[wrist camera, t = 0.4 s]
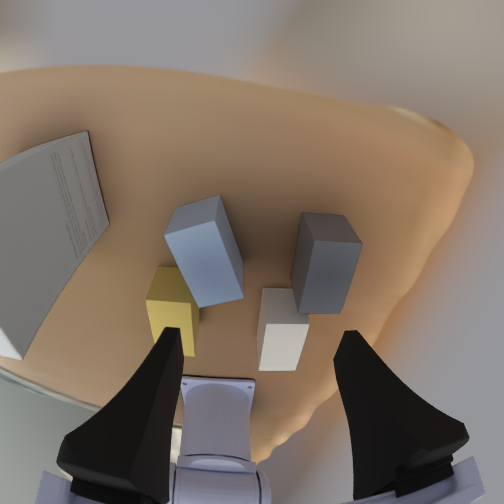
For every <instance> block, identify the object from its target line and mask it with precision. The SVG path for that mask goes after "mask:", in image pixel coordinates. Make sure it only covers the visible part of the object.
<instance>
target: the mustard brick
mask: <svg viewBox="0 0 504 504" xmlns="http://www.w3.org/2000/svg"><path fill="white" fill-rule="evenodd" d="M146 304H147V310H148V315H149V320H150V325H151V329H152V334H153V339H154V343H156V341H157V340H158V338H159V336H160V335H161V333H162V331H163V329H164V328H165V327H177V328H180V332H181V339H182V346H183V354H184V356H193V357H195V351H196V344H197V337H198V329H199V322H200V318H199V307H198V305H197V303H196V301H195V299H194V297H193V295H192V293H191V291H190V289H189V287H188V285H187V283H186V281H185V279H184V277H183V275H182V273H181V271H180V269H179V267H164V266H158V269H157V271H156V274H155V277H154V279H153V282H152V284H151V287H150V290H149V292H148V295H147V298H146Z"/></svg>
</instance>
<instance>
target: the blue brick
mask: <svg viewBox="0 0 504 504" xmlns="http://www.w3.org/2000/svg"><path fill="white" fill-rule="evenodd" d="M164 237H165V239H166V241H167V243H168V246H169V248H170V250H171V252H172V254H173V256H174V258H175V260H176V263H177V265H178V267H179V269H180V271H181V273H182V275H183V277H184V279H185V281H186V283H187V285H188V287H189V289H190V291H191V293H192V295H193V297H194V299H195V301H196V303H197V305H198V307H199V308H201V307H206V306H210V305H215V304H220V303H224V302H229V301H233V300H238V299H242V298H244V270H243V261H242V258H241V255H240V252H239V249H238V246H237V244H236V241H235V238H234V235H233V232H232V229H231V226H230V224H229V221H228V218H227V215H226V212H225V209H224V206H223V203H222V200H221V198H220V195H217V196H213V197H210V198H206V199H203V200H200V201H196V202H193V203H190V204H186V205H183V206H180V207H177V208H176V210H175V212H174V215H173V217H172V219H171V221H170V223H169V225H168V227H167V229H166V231H165V233H164Z"/></svg>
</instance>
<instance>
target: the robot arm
mask: <svg viewBox="0 0 504 504" xmlns="http://www.w3.org/2000/svg"><path fill="white" fill-rule="evenodd" d="M333 361H334V368H335V374H336V380H337V384H338V387H339V391H340V394H341V398H342V401H343V405H344V408H345V412H346V415H347V420H348V424H349V430H350V437H351V446H352V456H353V474H354V487H353V488H354V489H353V499H354V501H352V502H347V503H342V504H471V503H473V502H474V501H476V500H478V499H479V498H481V497H482V496H484V495H485V494H486V493H485V489H484V486H483V483H482V480H481V477H480V474H479V471H478V468H477V465H476V462H475V459H474V457H473V456H472V457H470V458H468V459H466V460H464V461H462V462H459V463H458V464H456V465H454V466H451V462H452V461H453V456H452V454H453V453H454V452H456V451H457V450H458V449H460V448H461V447H462V446H464V445H465V444H466V443H467V442H468V440H469V435H468V432H467V430H466V428H465V425H464V423H462V422H460V421H458V420H456V419H454V418H452V417H450V416H448V415H446V414H445V413H443V412H441V411H440V410H438V409H436V408H435V407H433V406H432V405H430V404H429V403H427V402H426V401H425V400H423V399H422V398H421V397H419V396H418V395H417V394H416V393H414V392H413V391H412V390H411V389H410V388H409V387H408V386H407V385H405V384H404V383H403V382H402V381H401V380H400V379H399V378H398V377H397V376H396V375H395V374H394V373H393V372H392V371H391V370H390V368H388V367H387V365H386V364H385V363H384V362H383V361H382V359H381V358H380V357H379V356H378V355H377V354H376V352H375V351H374V350H373V349H372V348H371V346H370V345H369V344H368V343H367V342H366V340H365V339H364V338H363V337H362V335H361V334H360V333H359V332H358V331H357V330H350V331H345V332H344V334H343V337H342V339H341V342H340V344H339V347H338V349H337V352H336V354H335V357H334V359H333ZM183 364H184V354H183V346H182V339H181V332H180V328H177V327H165V328H164V329H163V331H162V333H161V335H160V336H159V338H158V340H157V341H156V343H155V345H154V346H153V348H152V349H151V351H150V353H149V354H148V355H147V357H146V358H145V360H144V361H143V363H142V364H141V366H140V367H139V368H138V369H137V371H136V372H135V373H134V375H133V376H132V377H131V379H130V380H129V381H128V382H127V383H126V385H125V386H124V387H123V388H122V389H121V390H120V391H119V392H118V393H117V394H116V396H114V397H113V398H112V399H111V400H110V401H109V402H108V403H107V404H106V405H105V406H104V407H103V408H102V409H101V410H100V411H98V412H97V413H96V414H95V415H94V416H92V417H91V418H90V419H89V420H88V421H86V422H85V423H83V424H82V425H81V426H79V427H78V428H76V429H75V430H73V431H72V432H70V433H69V434H67V435H66V436H65V437H64V440H63V442H62V444H61V446H60V450H59V453H58V457H57V461H56V462H57V464H58V466H59V467H60V468H62V469H63V470H64V471H66V472H67V473H68V474H70V475H71V476H73V480H72V482H71V481H68V480H66V479H64V478H61V477H59V476H56V475H54V474H51V473H49V472H46V471H43V472H42V477H41V480H40V484H39V489H38V493H37V498H36V503H35V504H271V487H270V483H269V479H268V477H267V476H266V475H265V474H264V473H263V472H262V470H256V462H251V442H250V412H251V407H252V401H253V395H254V389H255V381H254V380H240V379H216V378H201V377H188V376H182V374H183ZM180 386H181V391H182V396H183V400H184V405H185V408H184V417H183V426H182V436H181V445H180V456H178V461H177V466H176V463H172V462H171V463H170V450H171V436H172V426H173V419H174V414H175V410H176V405H177V400H178V395H179V391H180Z"/></svg>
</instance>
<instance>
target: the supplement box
mask: <svg viewBox="0 0 504 504" xmlns="http://www.w3.org/2000/svg"><path fill="white" fill-rule="evenodd" d="M108 226H109V221H108V218H107V214H106V210H105V207H104V203H103V199H102V195H101V192H100V188H99V184H98V179H97V175H96V171H95V166H94V162H93V157H92V152H91V147H90V142H89V137H88V132H87V131H84V132H80V133H77V134H73V135H70V136H66V137H63V138H60V139H56V140H53V141H50V142H47V143H44V144H41V145H38V146H35V147H33V148H30V149H28V150H25V151H23V152H20V153H18V154H16V155H14V156H12V157H10V158H8V159H7V160H5V161H3V162H1V163H0V356H5V357H10V358H14V359H18V360H23V359H24V357H25V355H26V353H27V351H28V348H29V346H30V344H31V342H32V341H33V339H34V337H35V335H36V333H37V331H38V330H39V328H40V326H41V324H42V323H43V321H44V319H45V318H46V316H47V314H48V313H49V311H50V309H51V308H52V306H53V304H54V303H55V301H56V300H57V298H58V297H59V295H60V293H61V292H62V290H63V289H64V287H65V286H66V284H67V283H68V281H69V280H70V278H71V277H72V275H73V274H74V272H75V271H76V270H77V268H78V267H79V265H80V264H81V262H82V261H83V260H84V258H85V257H86V255H87V254H88V253H89V251H90V250H91V249H92V247H93V246H94V244H95V243H96V241H97V240H98V239H99V237H100V236H101V235H102V234H103V232H104V231H105V230H106V228H107V227H108Z"/></svg>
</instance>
